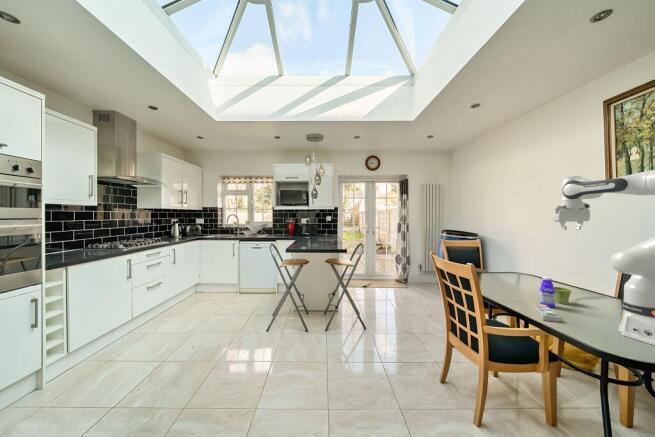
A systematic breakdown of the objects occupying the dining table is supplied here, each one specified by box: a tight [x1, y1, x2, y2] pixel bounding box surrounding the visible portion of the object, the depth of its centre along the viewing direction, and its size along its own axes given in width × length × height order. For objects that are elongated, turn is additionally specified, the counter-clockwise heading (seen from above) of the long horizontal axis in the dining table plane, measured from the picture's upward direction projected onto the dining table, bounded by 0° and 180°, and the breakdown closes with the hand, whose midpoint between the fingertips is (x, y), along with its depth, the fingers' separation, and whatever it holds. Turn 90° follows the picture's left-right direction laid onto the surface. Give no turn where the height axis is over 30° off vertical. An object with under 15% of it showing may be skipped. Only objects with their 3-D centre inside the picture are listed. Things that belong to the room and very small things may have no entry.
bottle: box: [538, 276, 556, 308], centre depth 156 cm, size 7×6×17 cm
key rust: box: [536, 303, 548, 309], centre depth 147 cm, size 4×4×2 cm
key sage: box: [543, 310, 557, 316], centre depth 138 cm, size 4×4×2 cm
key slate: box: [540, 307, 553, 312], centre depth 142 cm, size 4×4×2 cm
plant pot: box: [553, 286, 573, 305], centre depth 162 cm, size 9×9×9 cm
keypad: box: [532, 304, 561, 323], centre depth 142 cm, size 17×7×3 cm, turn 156°
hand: (571, 229), depth 149 cm, fingers open, 8 cm apart
